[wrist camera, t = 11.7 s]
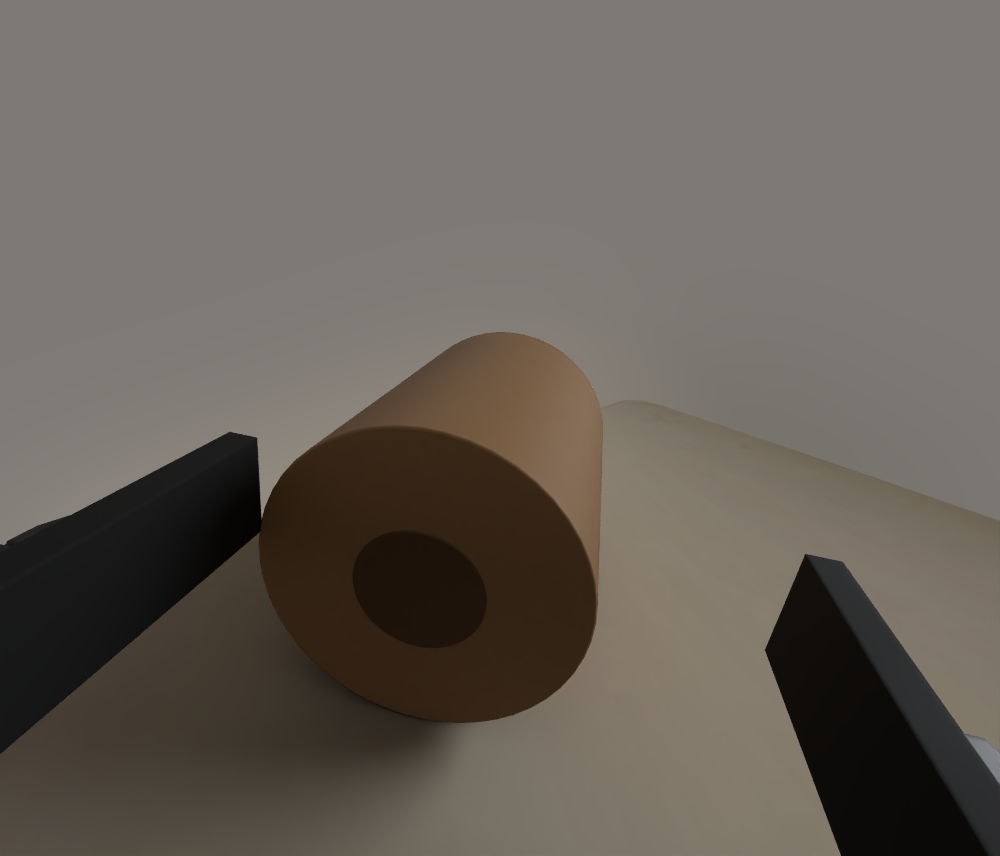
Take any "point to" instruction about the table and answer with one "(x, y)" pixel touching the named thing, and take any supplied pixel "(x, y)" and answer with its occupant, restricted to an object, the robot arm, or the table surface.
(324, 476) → the paper roll
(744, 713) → the table surface
